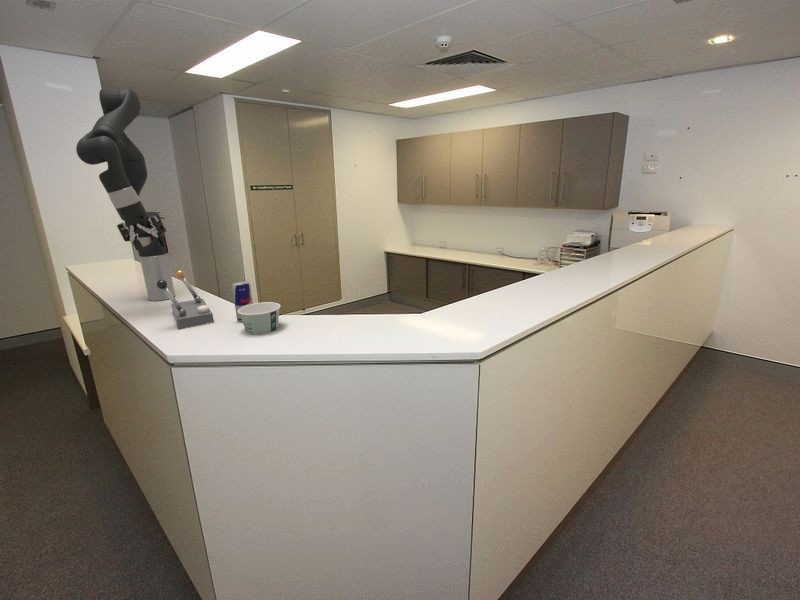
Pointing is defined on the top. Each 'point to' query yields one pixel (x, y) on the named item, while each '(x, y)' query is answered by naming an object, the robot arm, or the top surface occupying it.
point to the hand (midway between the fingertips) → (152, 248)
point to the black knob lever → (171, 296)
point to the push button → (203, 308)
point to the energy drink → (241, 296)
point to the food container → (260, 317)
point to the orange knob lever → (187, 285)
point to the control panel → (192, 314)
